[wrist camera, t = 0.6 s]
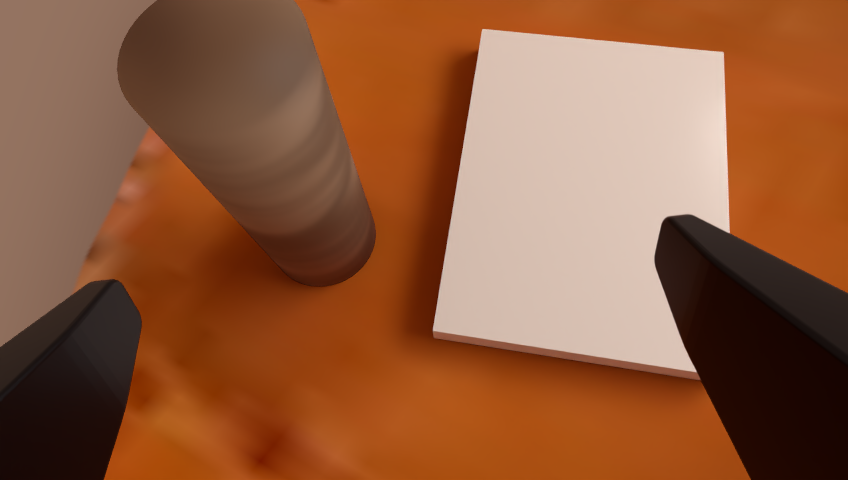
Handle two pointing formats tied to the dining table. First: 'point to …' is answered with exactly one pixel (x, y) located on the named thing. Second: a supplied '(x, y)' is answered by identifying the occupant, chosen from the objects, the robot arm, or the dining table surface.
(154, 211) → the dining table surface
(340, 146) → the walnut roller
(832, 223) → the dining table surface
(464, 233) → the stone slab
